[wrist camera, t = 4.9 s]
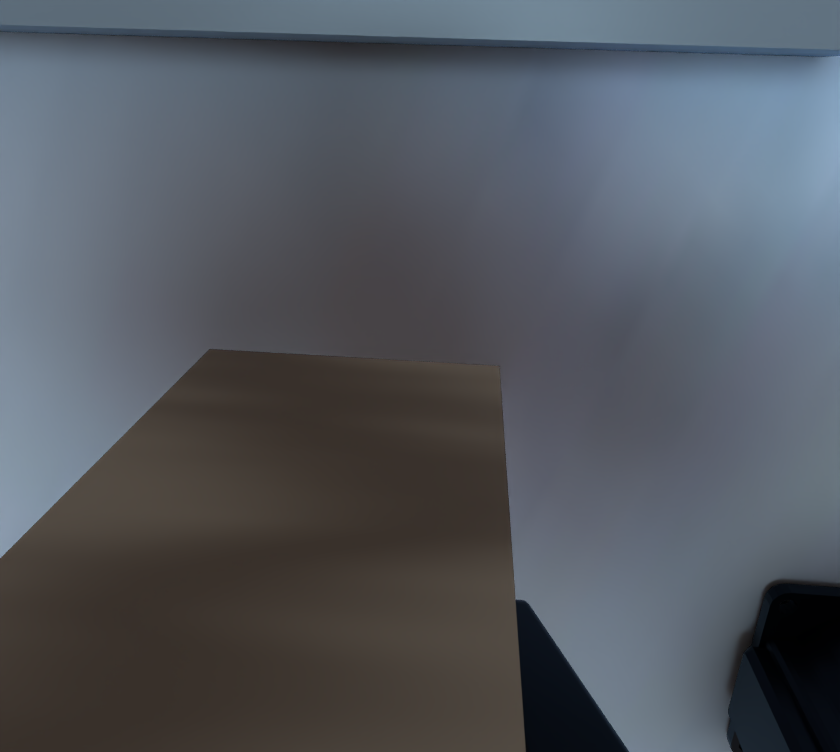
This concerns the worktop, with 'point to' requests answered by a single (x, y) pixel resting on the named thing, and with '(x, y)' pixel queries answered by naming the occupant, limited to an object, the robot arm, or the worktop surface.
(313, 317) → the worktop surface
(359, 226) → the worktop surface
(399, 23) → the tray
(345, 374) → the brown rectangular block
